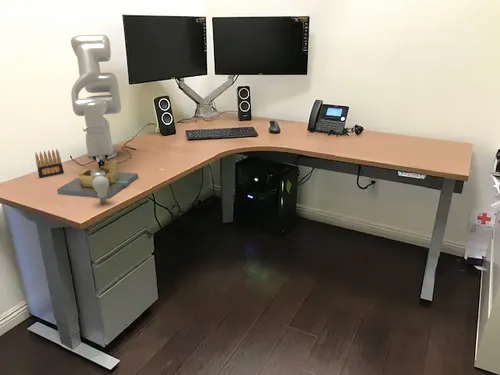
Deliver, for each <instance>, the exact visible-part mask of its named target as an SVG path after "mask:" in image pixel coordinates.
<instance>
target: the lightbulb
mask: <svg viewBox="0 0 500 375" xmlns="http://www.w3.org/2000/svg"><path fill="white" fill-rule="evenodd" d="M92 186H93V188H94V189H95V190H96V192H97V193H98V197H97V198H99V201H100V202H101V203H106V202H107V200H108V198H106V196H107V189H108V186H109V181H108V179H107V178H106V177H104V176H97V177H96V178H94V180H93V182H92Z"/></svg>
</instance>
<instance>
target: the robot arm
mask: <svg viewBox="0 0 500 375" xmlns="http://www.w3.org/2000/svg"><path fill="white" fill-rule="evenodd" d="M70 44H71V48H72V51H73V52H74V55H75V56H76V58H77V64H78V72H79V74H78V76H79V77H78V78H77V80H76V81H74V84H73V86H72V88H71V94H70V96H71V104H72V111H73V112H74V114H75V116H78V117H84V120H85V121H84V122H85V127H83V128H82V130H83V132H86V134H85V145H86V146H85V147H86V151H87V152H86V153H87V158H88V159H92V160H94V161H96V162H97V164H98V168H99V167H100V166H104V164H105V163H106V160H110V159H111V160H112V159H113V158H116V157H117V155H118V153H117V151H114V150H116V149H117V147H118V146H117V145H116V144H113V143H112V142H113V141H112V134H111V129H110V122H109V120H108V119H107V118H106V117H104V115H113V114H119V113H120V112H121V111H122V102H121V95H120V94H121V93H120V89H119V82H118V78H117V76H116V74H114V73H113V72H102V71H101V69H100V68H101V66H100V63H101V62H102V63H103V62H105V63H106V62H109V61H110V60H111V56H112V51H111V42H110V39H109V37H108V36H107V35H106V34H82V35H81V34H80V35H75V36H73V37H71V39H70ZM83 89H85V91H86V92H87V93H90V94H97V93H98V94H99V93H101V94H100V95H90V96H87V97H86V98H79V93H80V92H81V91H82V90H83ZM102 93H109V94H104V95H103V94H102Z"/></svg>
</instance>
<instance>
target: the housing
mask: <svg viewBox="0 0 500 375" xmlns="http://www.w3.org/2000/svg"><path fill="white" fill-rule="evenodd" d="M117 172H118V180H117V181H115V182H114V183H112V184H110V185H109V186H108V189H107V196H106V198H107V199H111V198H112V197H114V195H116V194H117V193H119V192H121V191H122V190H124V188H126V187H127V186H128V185H129V184H131V183H133V182H134V181H136V180H137V179H138V178H139V173H137V172H135V173H134V172H125V171H124V172H123V171H117ZM90 174H91V176H96V177H97V176H104V177H105V171H104V170H96V171H92V172H91V173H90ZM56 191H57V194H58V195H69V196H78V197H91V198H99V197H98V193H97V192H96V190H95V189H94V188H93V187H83V186H81V184H80V183H79V178H78V177H76V178H75V179H73V180H71V181H69V182H68V183H66V184H64V185H62V186H61V187H59V188H57V190H56Z"/></svg>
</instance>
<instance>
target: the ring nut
mask: <svg viewBox="0 0 500 375" xmlns="http://www.w3.org/2000/svg"><path fill="white" fill-rule="evenodd" d="M96 170H104V171H105V177H106V178H107V179H108V181H109V185H110V184H112V183H114V182H115V181H117V180H118V172H119V171H118V170H119V169H118V161H117V159H113V158H111V160H109V161H107V162H105V164H104V166H100V167H99V166H98V167H97V168H92V169H91V168H84V169H82V170H80V171H78V173H77V174H78V175H77V178H79V183H80V184H81V186H83V187H93V186H92V182H93V180H94V178H96V176H91V174H90V173H91V172H92V171H96Z"/></svg>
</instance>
